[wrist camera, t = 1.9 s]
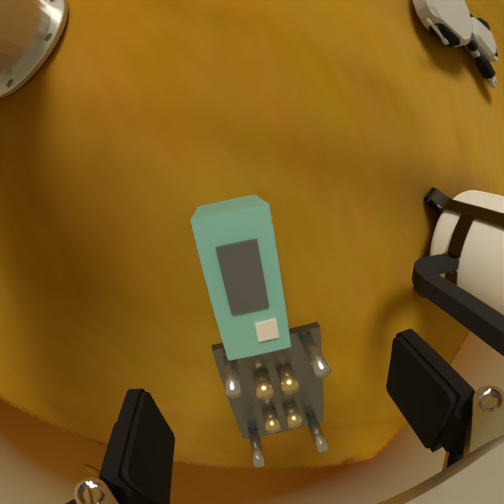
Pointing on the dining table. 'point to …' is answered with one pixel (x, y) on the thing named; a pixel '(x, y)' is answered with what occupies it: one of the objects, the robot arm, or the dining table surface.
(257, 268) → the teal block
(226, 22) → the dining table surface
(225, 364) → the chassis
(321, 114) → the dining table surface
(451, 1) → the robot toy
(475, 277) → the coffee press
